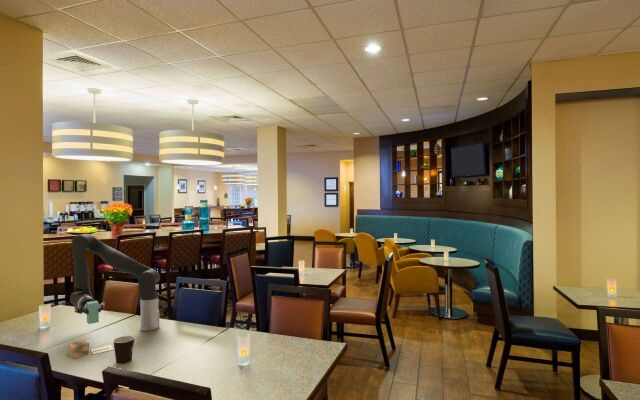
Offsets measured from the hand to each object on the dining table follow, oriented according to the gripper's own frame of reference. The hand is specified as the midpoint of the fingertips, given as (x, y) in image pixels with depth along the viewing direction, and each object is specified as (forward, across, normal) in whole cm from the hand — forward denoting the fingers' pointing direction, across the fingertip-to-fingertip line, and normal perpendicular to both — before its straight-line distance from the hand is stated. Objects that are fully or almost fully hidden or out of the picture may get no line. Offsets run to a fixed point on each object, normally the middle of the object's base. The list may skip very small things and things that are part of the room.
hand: (93, 311), depth 189 cm
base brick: (+3, -7, +18) cm, 20 cm away
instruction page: (+6, +2, +18) cm, 19 cm away
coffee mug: (+26, +8, +18) cm, 33 cm away
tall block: (-3, 0, +6) cm, 7 cm away
